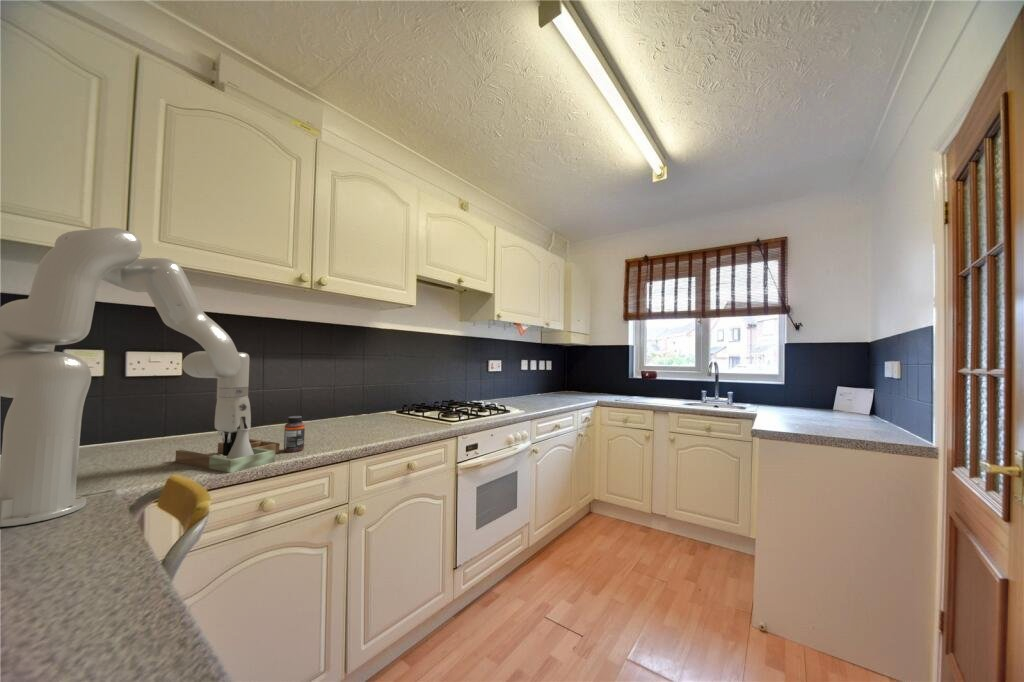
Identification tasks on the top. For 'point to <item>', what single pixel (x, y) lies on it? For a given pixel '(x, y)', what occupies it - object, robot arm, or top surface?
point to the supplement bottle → (294, 434)
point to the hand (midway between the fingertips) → (230, 454)
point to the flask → (241, 445)
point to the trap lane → (262, 455)
